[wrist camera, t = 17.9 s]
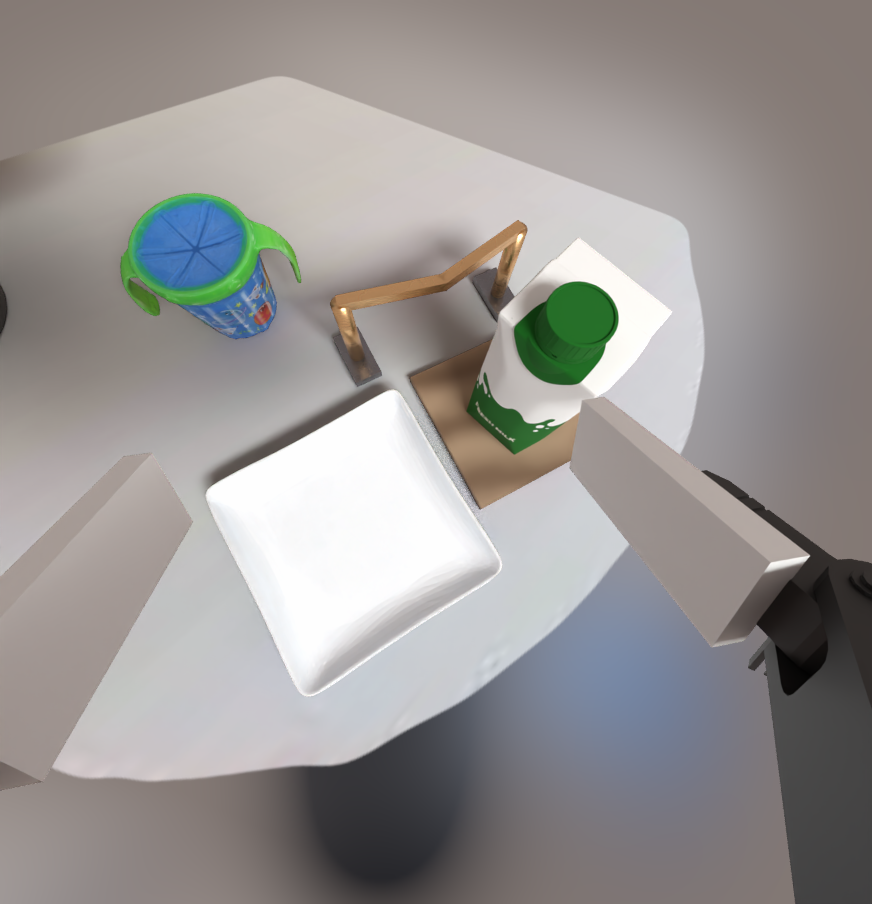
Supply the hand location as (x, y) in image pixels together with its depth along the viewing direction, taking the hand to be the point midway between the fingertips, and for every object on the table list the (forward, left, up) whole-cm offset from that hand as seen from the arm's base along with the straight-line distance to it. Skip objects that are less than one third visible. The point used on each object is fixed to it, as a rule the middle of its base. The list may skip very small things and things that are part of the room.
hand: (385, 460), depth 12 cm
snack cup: (-29, -6, -26) cm, 39 cm away
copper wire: (-18, +12, -26) cm, 34 cm away
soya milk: (-4, +15, -25) cm, 30 cm away
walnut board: (-5, +15, -26) cm, 30 cm away
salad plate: (-1, -5, -27) cm, 27 cm away
